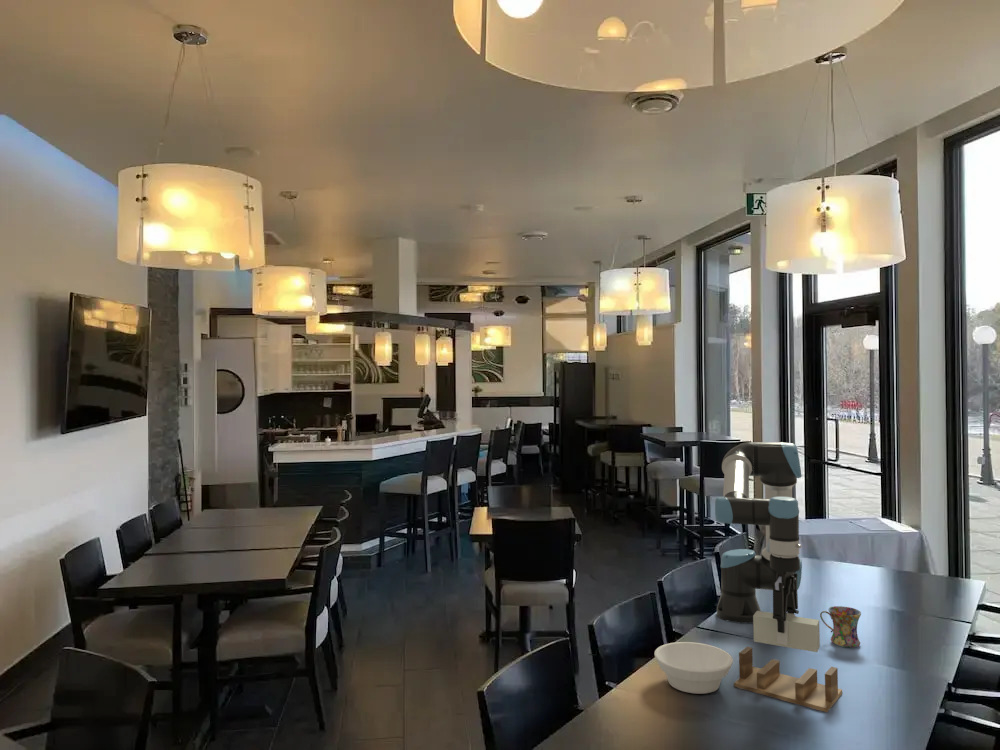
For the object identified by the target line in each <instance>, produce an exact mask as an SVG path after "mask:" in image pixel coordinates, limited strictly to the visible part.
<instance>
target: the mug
mask: <svg viewBox="0 0 1000 750" xmlns="http://www.w3.org/2000/svg"><path fill="white" fill-rule="evenodd" d="M823 613H824V614H828V615H829V617H830V619H831V620H832V625H833V626H832V627H833V628H832V627H831V626H830V625H829V624H827V622H826V621H825V620H824V618H823V615H822V614H823ZM861 615H862V611H860V610H858V609H856V608H854V607H849V606H842V605H841V606H839V605H838V606H837V605H835V606H831V607H829V608H828V611H827V610H823V611H821V612H820V613H819V617H820V619H821V621H822V623H823V624H824V625H825V626H826V628H828V629H830V630H831V631H830V633H832V636H831V637H830V641H831V643H833V644H835V645H836V646H840V647H843V648H857V647H860V645H861V642H860V639H859V637H858V635H859V634H858V623H859V620H860V618H861Z"/></svg>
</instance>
